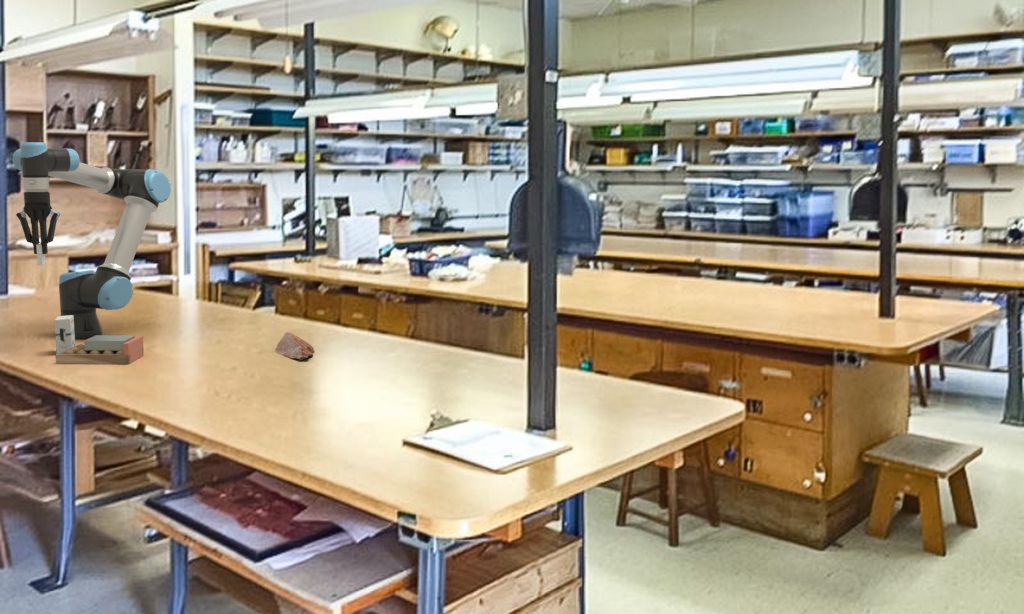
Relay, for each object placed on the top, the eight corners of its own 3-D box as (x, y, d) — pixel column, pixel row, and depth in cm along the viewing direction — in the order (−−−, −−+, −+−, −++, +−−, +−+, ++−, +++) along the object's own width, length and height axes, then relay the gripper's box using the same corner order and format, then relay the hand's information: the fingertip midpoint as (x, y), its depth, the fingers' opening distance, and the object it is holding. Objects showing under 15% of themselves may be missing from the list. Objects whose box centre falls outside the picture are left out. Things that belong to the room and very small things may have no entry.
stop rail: (138, 355, 320) (137, 335, 320) (143, 355, 321) (143, 336, 320) (123, 364, 306) (123, 343, 306) (129, 364, 307) (128, 343, 306)
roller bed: (73, 355, 319) (73, 343, 319) (143, 355, 321) (143, 343, 320) (56, 363, 305) (55, 351, 305) (129, 364, 307) (128, 351, 306)
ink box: (59, 350, 326) (57, 315, 325) (75, 350, 328) (74, 314, 326) (55, 355, 318) (54, 319, 317) (72, 355, 320) (71, 318, 318)
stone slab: (96, 344, 317) (96, 335, 317) (134, 344, 318) (134, 335, 317) (84, 350, 307) (84, 340, 307) (124, 350, 308) (123, 341, 307)
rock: (290, 359, 313) (311, 335, 315) (268, 348, 333) (289, 326, 336) (312, 379, 317) (333, 356, 320) (290, 368, 338) (310, 345, 340)
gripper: (10, 191, 314) (16, 265, 318) (53, 191, 315) (58, 265, 319) (19, 190, 322) (25, 263, 325) (61, 190, 323) (66, 262, 327)
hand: (41, 264), depth 322 cm, fingers closed
